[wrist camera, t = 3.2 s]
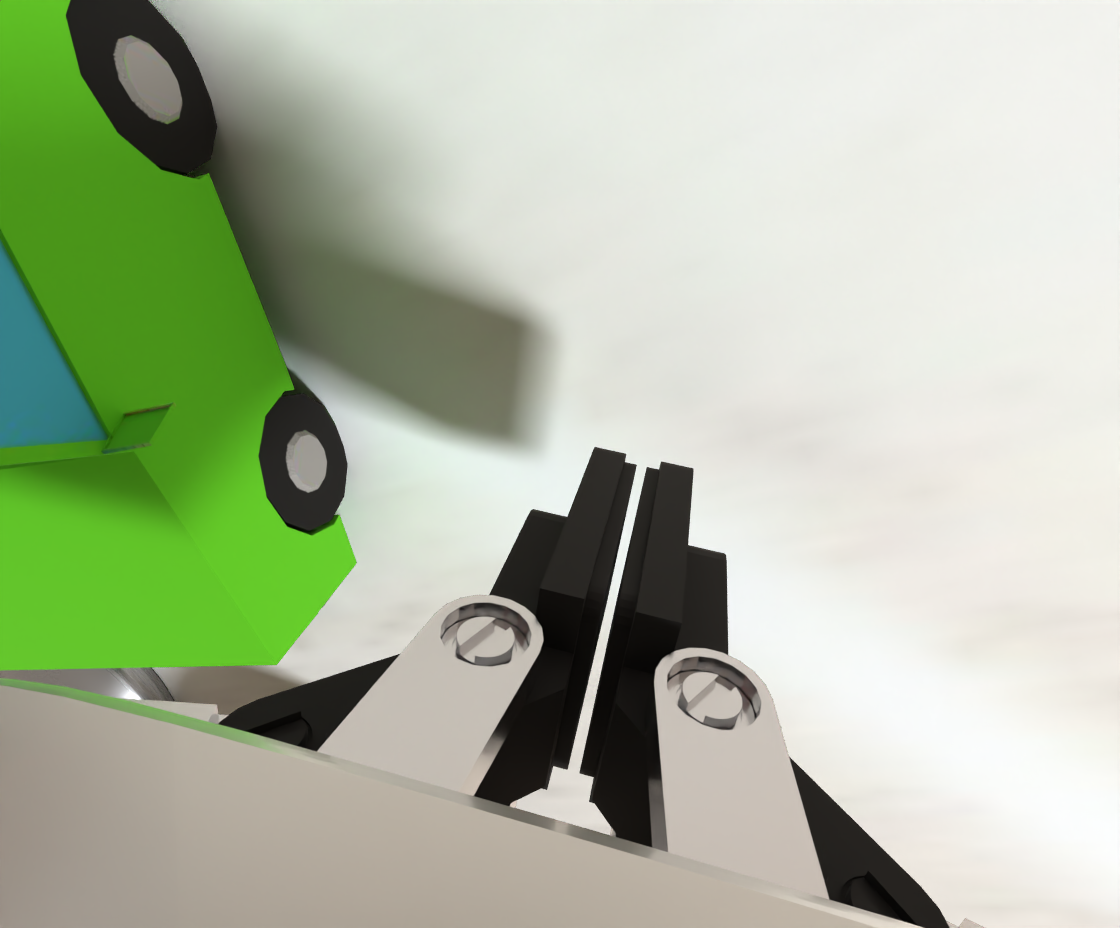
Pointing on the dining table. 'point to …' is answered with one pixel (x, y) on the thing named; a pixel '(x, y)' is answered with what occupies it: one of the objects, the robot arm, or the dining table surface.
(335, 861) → the robot arm
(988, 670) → the dining table surface
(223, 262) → the toy car
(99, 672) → the shallow metal dish
